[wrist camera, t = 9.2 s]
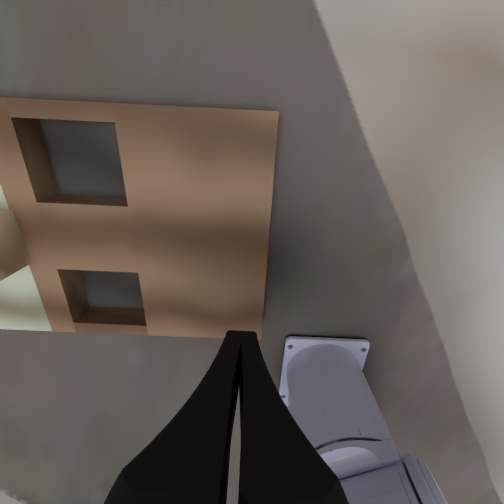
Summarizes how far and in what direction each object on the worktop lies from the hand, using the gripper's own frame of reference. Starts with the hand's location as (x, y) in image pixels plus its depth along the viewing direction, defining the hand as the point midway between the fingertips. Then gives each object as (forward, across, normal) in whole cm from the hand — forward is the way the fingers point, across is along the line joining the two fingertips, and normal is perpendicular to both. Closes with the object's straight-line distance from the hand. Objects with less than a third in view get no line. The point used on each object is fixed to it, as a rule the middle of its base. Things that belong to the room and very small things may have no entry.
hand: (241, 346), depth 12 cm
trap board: (+10, +10, -2) cm, 14 cm away
